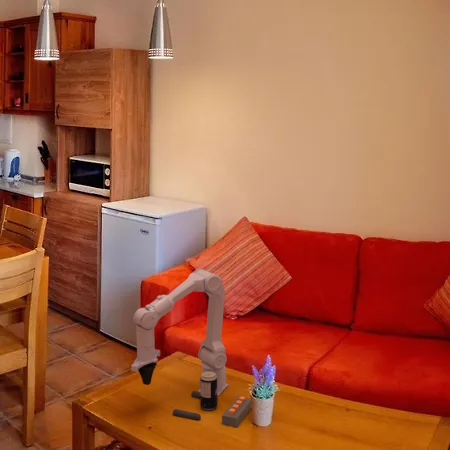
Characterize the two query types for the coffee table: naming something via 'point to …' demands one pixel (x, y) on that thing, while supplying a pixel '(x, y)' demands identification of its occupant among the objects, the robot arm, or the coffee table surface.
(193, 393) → the cord
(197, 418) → the cord
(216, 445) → the coffee table surface
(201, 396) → the beverage can
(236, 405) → the breaker strip
